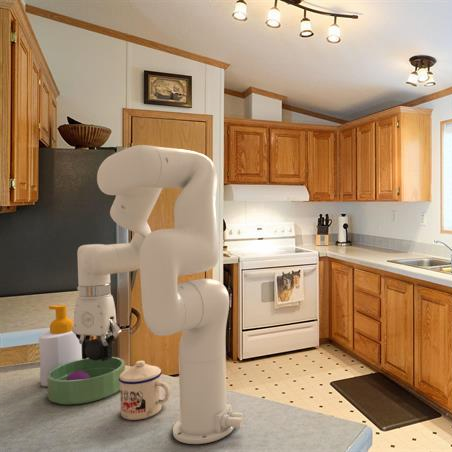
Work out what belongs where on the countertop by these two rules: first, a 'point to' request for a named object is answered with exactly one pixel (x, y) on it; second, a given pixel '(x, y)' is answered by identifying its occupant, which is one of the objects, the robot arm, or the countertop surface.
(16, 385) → the countertop surface
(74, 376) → the purple ball
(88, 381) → the green bowl
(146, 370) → the teacup with lid
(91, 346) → the charcoal ball
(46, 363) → the soap bottle
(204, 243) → the robot arm
